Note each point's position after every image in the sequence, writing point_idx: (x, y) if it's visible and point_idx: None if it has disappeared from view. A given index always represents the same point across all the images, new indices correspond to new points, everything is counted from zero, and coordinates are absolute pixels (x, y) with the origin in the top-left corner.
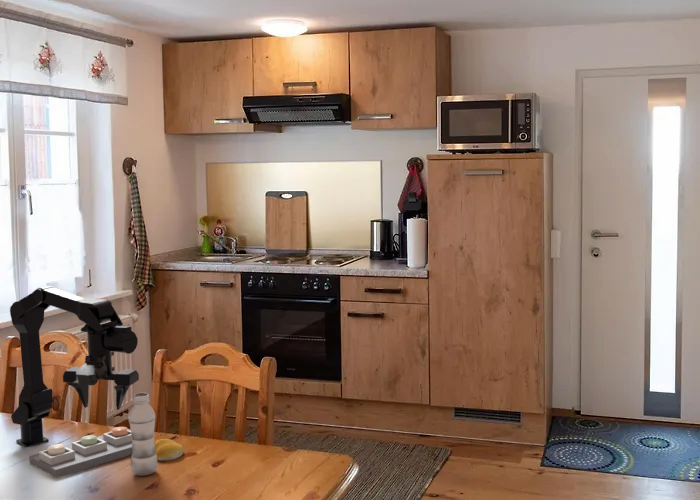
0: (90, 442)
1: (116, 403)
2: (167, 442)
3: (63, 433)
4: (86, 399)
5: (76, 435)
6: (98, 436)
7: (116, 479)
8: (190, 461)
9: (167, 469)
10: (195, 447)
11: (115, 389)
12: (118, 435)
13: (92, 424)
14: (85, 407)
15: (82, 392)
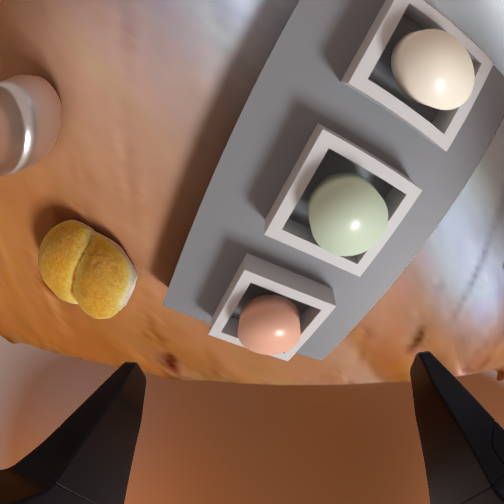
0: (323, 189)
1: (108, 399)
2: (74, 292)
3: (479, 323)
4: (428, 416)
5: (447, 323)
6: (367, 312)
7: (85, 31)
8: (18, 239)
9: None
10: (76, 318)
11: (17, 497)
12: (257, 303)
13: None
14: (419, 352)
15: (474, 464)
